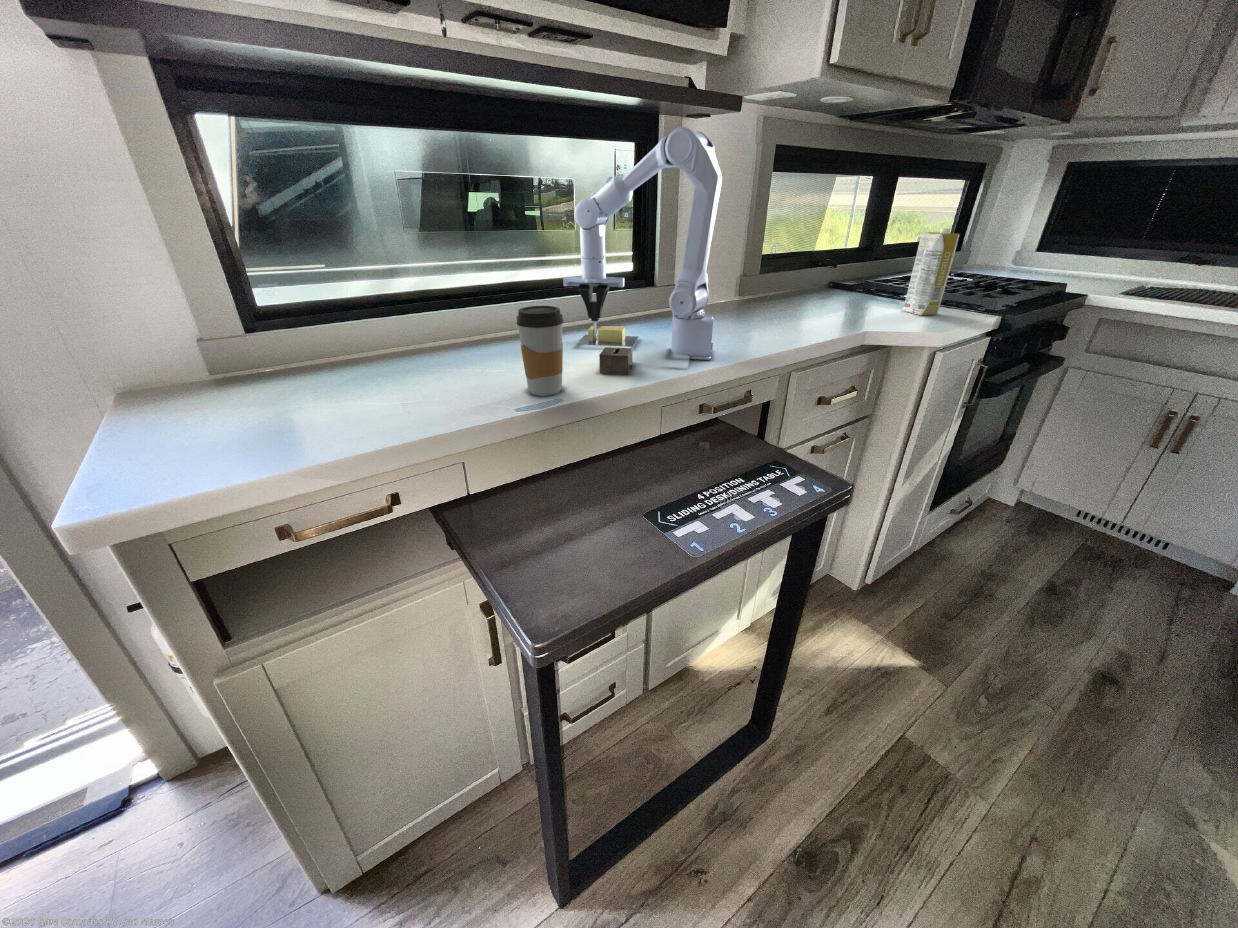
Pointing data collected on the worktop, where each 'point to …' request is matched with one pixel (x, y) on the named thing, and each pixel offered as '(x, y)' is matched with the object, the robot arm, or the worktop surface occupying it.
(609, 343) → the butter dish
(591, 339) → the butter slice
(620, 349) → the knife block
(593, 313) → the knife
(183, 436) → the worktop surface
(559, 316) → the coffee cup
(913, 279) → the juice carton
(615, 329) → the butter block
